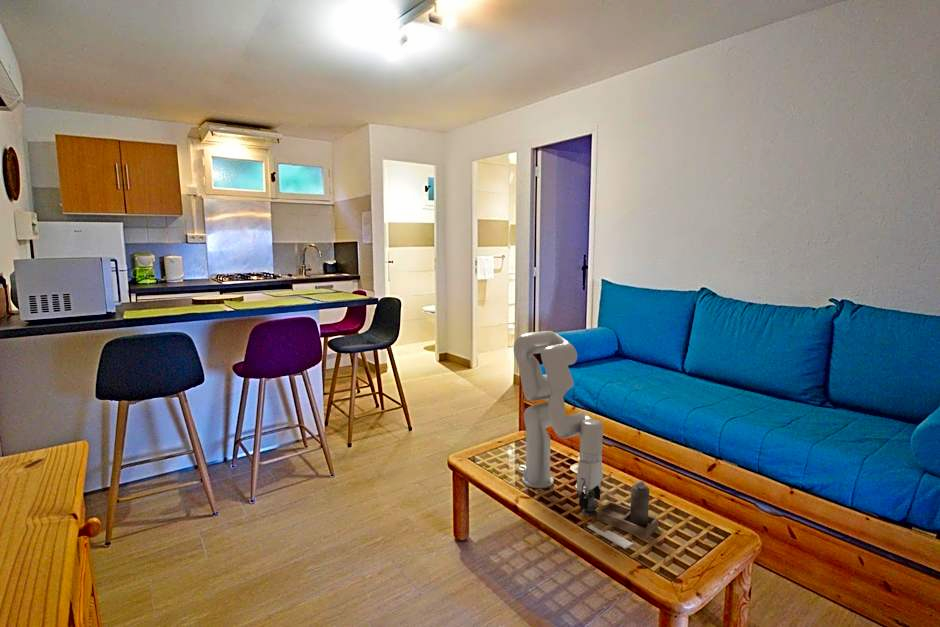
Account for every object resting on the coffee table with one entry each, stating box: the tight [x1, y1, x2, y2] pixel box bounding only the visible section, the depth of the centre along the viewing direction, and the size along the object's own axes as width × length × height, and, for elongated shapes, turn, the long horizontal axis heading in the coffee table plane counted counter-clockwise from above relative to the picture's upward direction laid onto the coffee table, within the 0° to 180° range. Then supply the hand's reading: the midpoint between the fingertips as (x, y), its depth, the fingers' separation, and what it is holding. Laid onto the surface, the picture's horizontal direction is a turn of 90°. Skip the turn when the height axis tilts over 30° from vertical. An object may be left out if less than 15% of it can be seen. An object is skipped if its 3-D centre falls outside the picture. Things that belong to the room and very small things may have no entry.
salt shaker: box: [581, 487, 599, 517], centre depth 172 cm, size 6×6×12 cm
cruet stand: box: [596, 480, 659, 540], centre depth 164 cm, size 17×9×17 cm, turn 47°
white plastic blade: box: [587, 524, 634, 550], centre depth 158 cm, size 5×15×1 cm, turn 36°
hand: (589, 502), depth 172 cm, fingers open, 7 cm apart
